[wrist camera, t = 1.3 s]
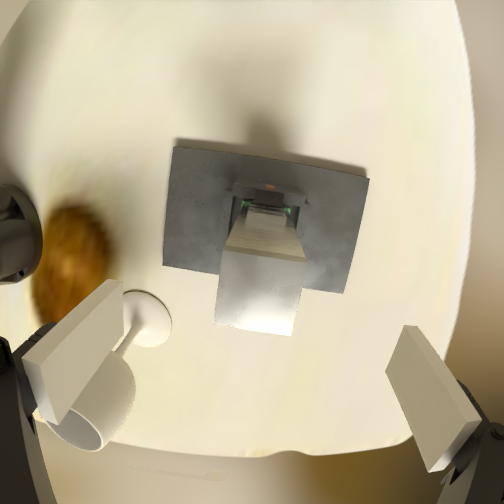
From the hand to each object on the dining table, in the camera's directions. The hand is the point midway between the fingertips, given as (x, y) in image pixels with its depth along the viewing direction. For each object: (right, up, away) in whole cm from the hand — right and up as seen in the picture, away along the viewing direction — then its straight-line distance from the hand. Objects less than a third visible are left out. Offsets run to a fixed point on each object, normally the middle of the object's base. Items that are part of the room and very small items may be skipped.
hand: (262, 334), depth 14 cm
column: (+1, +7, +22) cm, 23 cm away
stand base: (+1, +7, +23) cm, 24 cm away
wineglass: (-15, -6, +28) cm, 32 cm away
